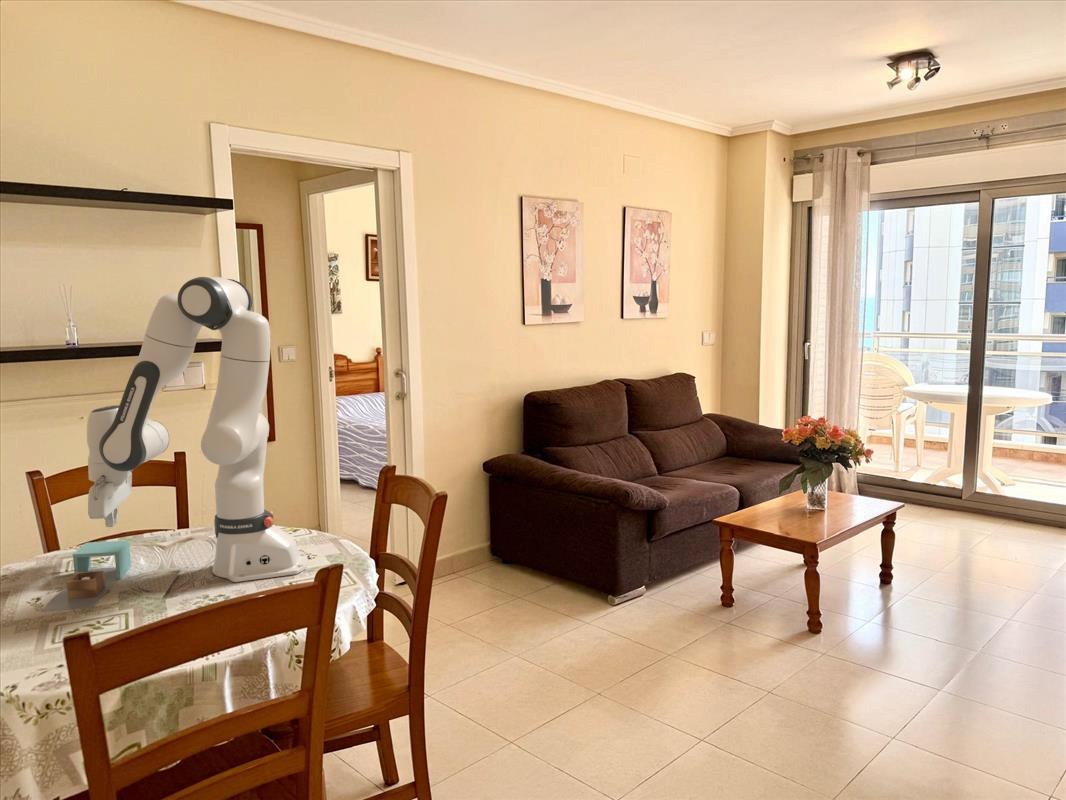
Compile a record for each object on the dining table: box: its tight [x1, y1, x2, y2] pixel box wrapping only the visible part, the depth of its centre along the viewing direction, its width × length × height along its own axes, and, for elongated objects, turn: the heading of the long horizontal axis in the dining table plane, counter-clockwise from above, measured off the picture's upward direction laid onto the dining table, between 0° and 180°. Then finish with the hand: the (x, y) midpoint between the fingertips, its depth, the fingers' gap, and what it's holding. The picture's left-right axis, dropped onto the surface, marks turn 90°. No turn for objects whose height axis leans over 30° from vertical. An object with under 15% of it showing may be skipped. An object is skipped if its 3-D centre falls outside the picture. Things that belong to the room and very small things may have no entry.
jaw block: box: [66, 571, 105, 599], centre depth 167 cm, size 6×6×4 cm
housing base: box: [41, 566, 118, 612], centre depth 171 cm, size 10×24×4 cm, turn 12°
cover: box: [72, 539, 132, 580], centre depth 178 cm, size 10×8×6 cm
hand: (111, 525), depth 186 cm, fingers closed
